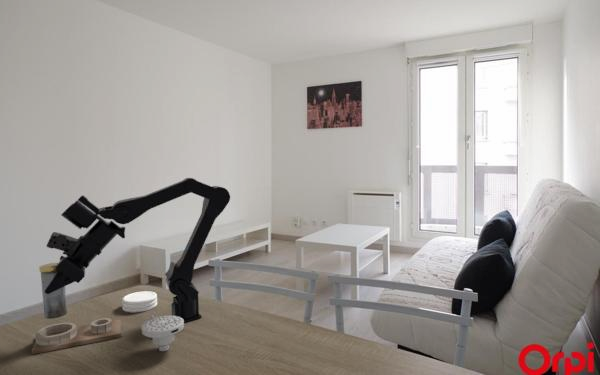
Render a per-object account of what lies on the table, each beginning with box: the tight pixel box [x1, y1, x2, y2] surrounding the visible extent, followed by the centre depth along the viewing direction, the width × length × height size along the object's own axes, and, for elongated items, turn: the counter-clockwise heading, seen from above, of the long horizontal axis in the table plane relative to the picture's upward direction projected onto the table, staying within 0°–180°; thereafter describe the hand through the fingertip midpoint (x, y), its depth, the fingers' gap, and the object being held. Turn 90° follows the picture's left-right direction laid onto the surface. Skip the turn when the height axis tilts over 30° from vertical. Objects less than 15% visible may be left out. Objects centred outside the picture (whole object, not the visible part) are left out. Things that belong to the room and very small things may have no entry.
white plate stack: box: [121, 290, 158, 314], centre depth 121 cm, size 10×10×4 cm
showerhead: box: [141, 314, 185, 352], centre depth 93 cm, size 9×7×10 cm
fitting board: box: [31, 317, 122, 355], centre depth 100 cm, size 19×10×3 cm, turn 116°
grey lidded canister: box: [38, 262, 68, 320], centre depth 97 cm, size 5×5×12 cm
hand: (47, 289), depth 97 cm, fingers closed on grey lidded canister, 5 cm apart
